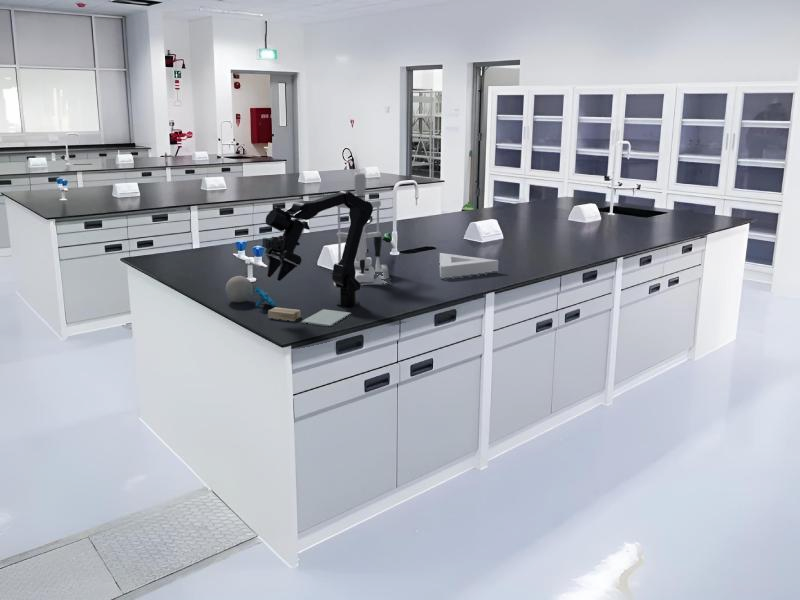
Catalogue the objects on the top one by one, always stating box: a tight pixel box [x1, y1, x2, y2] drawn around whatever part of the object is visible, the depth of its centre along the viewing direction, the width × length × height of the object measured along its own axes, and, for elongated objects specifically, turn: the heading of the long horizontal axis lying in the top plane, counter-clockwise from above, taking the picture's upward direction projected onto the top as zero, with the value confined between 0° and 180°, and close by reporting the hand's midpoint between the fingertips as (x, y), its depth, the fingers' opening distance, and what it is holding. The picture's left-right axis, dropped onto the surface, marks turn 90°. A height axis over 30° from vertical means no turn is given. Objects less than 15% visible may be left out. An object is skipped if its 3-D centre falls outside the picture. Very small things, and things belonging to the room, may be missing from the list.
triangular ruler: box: [439, 252, 499, 278], centre depth 313 cm, size 30×26×6 cm
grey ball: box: [225, 275, 254, 303], centre depth 261 cm, size 10×10×10 cm
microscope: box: [331, 172, 390, 288], centre depth 294 cm, size 24×27×45 cm
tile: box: [267, 306, 301, 322], centre depth 243 cm, size 5×10×3 cm, turn 70°
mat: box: [301, 308, 352, 328], centre depth 243 cm, size 16×11×1 cm
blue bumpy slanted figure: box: [253, 286, 277, 308], centre depth 256 cm, size 11×6×10 cm
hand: (273, 278), depth 237 cm, fingers open, 9 cm apart
